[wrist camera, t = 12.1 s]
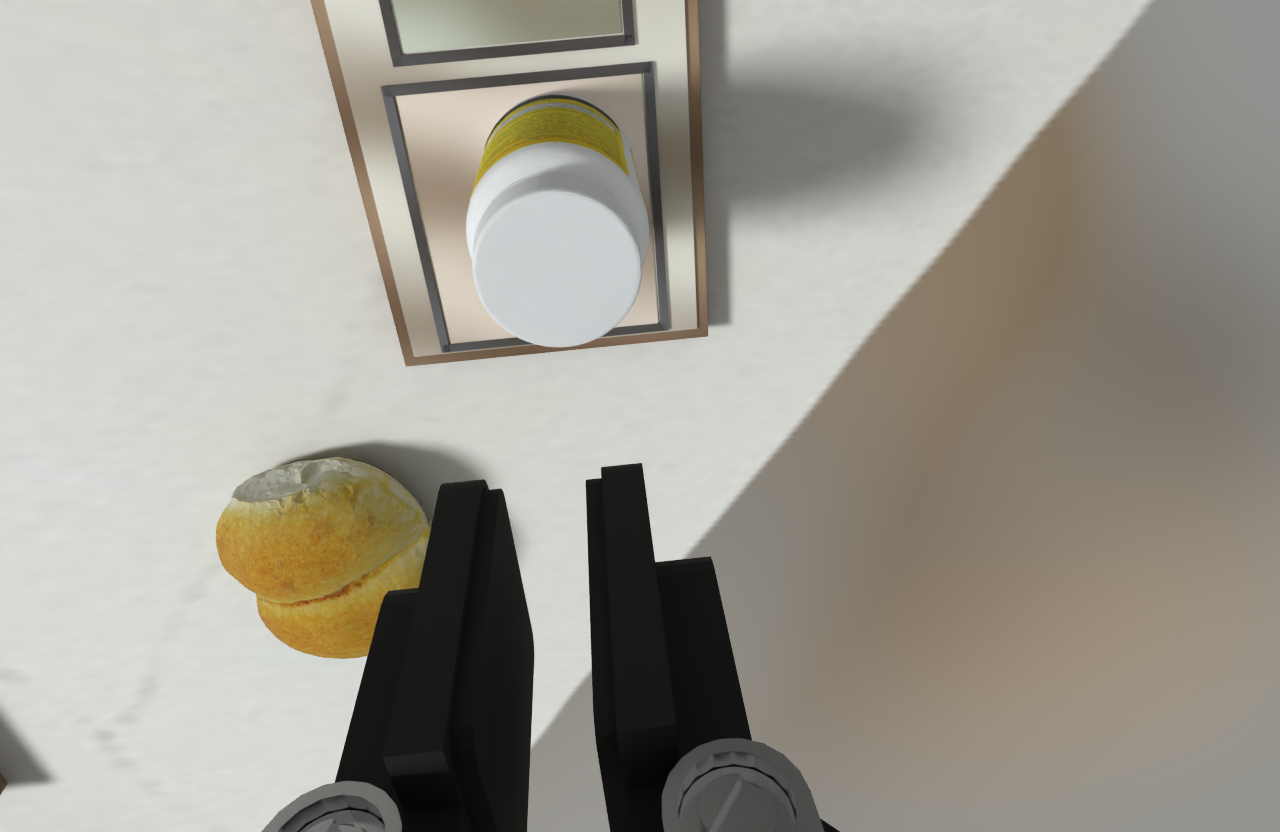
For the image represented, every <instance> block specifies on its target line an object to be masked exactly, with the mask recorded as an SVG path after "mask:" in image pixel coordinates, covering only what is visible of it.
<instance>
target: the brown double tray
mask: <svg viewBox="0 0 1280 832" xmlns="http://www.w3.org/2000/svg"><path fill="white" fill-rule="evenodd" d="M311 4H312V8H313V12H314V16H315V19H316V23H317V27H318V31H319V35H320V39H321V43H322V46H323V50H324V54H325V58H326V62H327V66H328V69H329V73H330V77H331V81H332V85H333V89H334V92H335V96H336V100H337V104H338V108H339V112H340V115H341V119H342V123H343V127H344V131H345V135H346V138H347V142H348V146H349V150H350V154H351V158H352V161H353V165H354V169H355V173H356V177H357V181H358V184H359V188H360V192H361V196H362V200H363V204H364V207H365V211H366V215H367V219H368V223H369V227H370V230H371V234H372V238H373V242H374V246H375V250H376V253H377V257H378V261H379V265H380V269H381V273H382V276H383V280H384V284H385V288H386V292H387V296H388V300H389V303H390V307H391V311H392V315H393V319H394V323H395V326H396V330H397V334H398V338H399V342H400V346H401V349H402V353H403V357H404V361H405V365H406V366H416V365H426V364H436V363H446V362H456V361H466V360H476V359H486V358H496V357H506V356H516V355H526V354H536V353H546V352H556V351H566V350H576V349H586V348H596V347H606V346H616V345H626V344H636V343H646V342H656V341H666V340H676V339H686V338H696V337H706V336H708V315H707V283H706V251H705V219H704V186H703V154H702V122H701V90H700V57H699V25H698V0H311ZM545 93H567V94H572V95H576V96H579V97H582V98H585V99H587V100H589V101H591V102H593V103H595V104H596V105H598V106H599V107H601V108H602V109H603V110H604V111H606V112H607V113H608V114H609V115H610V116H611V117H612V118H613V119H614V120H615V122H616V123H617V124H618V125H619V127H620V128H621V130H622V131H623V133H624V135H625V136H626V139H627V141H628V143H629V146H630V148H631V151H632V155H633V159H634V163H635V167H636V171H637V175H638V179H639V183H640V187H641V191H642V195H643V198H644V202H645V205H646V209H647V215H648V222H649V243H648V251H647V255H646V259H645V262H644V265H643V267H642V278H641V284H640V289H639V292H638V295H637V297H636V300H635V302H634V304H633V306H632V307H631V309H630V310H629V312H628V313H627V315H626V316H625V317H624V318H623V319H622V321H621V322H620V323H619V324H617V325H616V326H615V327H614V328H613V329H612V330H610V331H609V332H608V333H606V334H605V335H603V336H601V337H599V338H597V339H595V340H593V341H591V342H588V343H585V344H581V345H577V346H571V347H546V346H541V345H536V344H533V343H530V342H527V341H524V340H522V339H520V338H518V337H516V336H514V335H512V334H511V333H509V332H508V331H506V330H505V329H504V328H502V327H501V326H500V325H499V324H498V323H497V322H496V321H495V320H494V319H493V318H492V317H491V316H490V314H489V313H488V312H487V310H486V309H485V307H484V306H483V304H482V302H481V300H480V298H479V296H478V293H477V291H476V287H475V284H474V279H473V271H472V259H471V256H470V253H469V249H468V245H467V238H466V217H467V210H468V204H469V200H470V197H471V194H472V191H473V187H474V184H475V180H476V176H477V173H478V170H479V166H480V163H481V159H482V156H483V153H484V148H485V144H486V142H487V139H488V137H489V135H490V133H491V131H492V129H493V128H494V126H495V124H496V123H497V122H498V121H499V119H500V118H501V117H502V116H503V115H504V114H505V113H506V112H507V111H508V110H510V109H511V108H512V107H513V106H515V105H516V104H518V103H519V102H521V101H523V100H526V99H528V98H530V97H533V96H537V95H540V94H545Z"/></svg>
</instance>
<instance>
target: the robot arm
mask: <svg viewBox="0 0 1280 832" xmlns="http://www.w3.org/2000/svg"><path fill="white" fill-rule="evenodd" d="M601 476H602V478H600V479H590V480H586V502H587V532H588V563H589V594H590V624H591V655H592V686H593V712H594V725H595V736H596V745H597V752H598V758H599V765H600V770H601V776H602V782H603V789H604V795H605V801H606V807H607V814H608V820H609V826H610V832H839V831H838V830H836V829H835V828H834V827H832V826H830V825H829V824H827V823H826V822H825V821H823V820H822V819H820V817H819V814H818V811H817V809H816V805H815V803H814V800H813V797H812V794H811V791H810V789H809V787H808V785H807V783H806V782H805V780H804V778H803V776H802V774H801V772H800V770H799V769H797V767H795V766H794V764H793V763H792V762H790V760H789V759H787V758H786V756H784V755H783V754H782V753H780V752H778V751H776V750H775V749H773V748H771V747H769V746H767V745H766V744H764V743H760V742H755V741H752V739H751V734H750V730H749V725H748V720H747V716H746V711H745V707H744V703H743V698H742V693H741V688H740V684H739V679H738V675H737V670H736V665H735V661H734V656H733V652H732V647H731V642H730V638H729V633H728V629H727V624H726V619H725V615H724V610H723V606H722V601H721V597H720V592H719V588H718V583H717V578H716V574H715V569H714V565H713V561H712V559H711V557H702V558H692V559H683V560H674V561H664V562H655V558H654V551H653V543H652V536H651V528H650V520H649V513H648V505H647V498H646V490H645V482H644V475H643V467H642V463H638V464H628V465H618V466H609V467H601ZM533 673H534V642H533V633H532V628H531V623H530V618H529V613H528V608H527V603H526V598H525V594H524V589H523V584H522V579H521V574H520V569H519V565H518V560H517V555H516V550H515V545H514V540H513V535H512V531H511V526H510V521H509V516H508V511H507V506H506V502H505V497H504V493H503V491H502V489H494V490H489V489H488V485H487V483H486V481H485V480H484V479H483V480H473V481H464V482H454V483H444V484H442V485H441V486H440V489H439V493H438V498H437V503H436V507H435V512H434V517H433V522H432V526H431V531H430V536H429V540H428V545H427V550H426V555H425V559H424V564H423V569H422V573H421V578H420V583H419V587H418V588H411V589H401V590H392V591H388V592H387V593H386V595H385V596H384V598H383V601H382V604H381V607H380V611H379V614H378V618H377V622H376V626H375V630H374V634H373V638H372V641H371V645H370V649H369V653H368V657H367V661H366V665H365V668H364V672H363V676H362V680H361V684H360V688H359V692H358V695H357V699H356V703H355V707H354V711H353V715H352V719H351V722H350V726H349V730H348V734H347V738H346V742H345V746H344V749H343V753H342V757H341V761H340V765H339V769H338V773H337V776H336V780H335V783H332V784H326V785H323V786H321V787H318V788H316V789H314V790H312V791H310V792H307V793H305V794H303V795H301V796H299V797H298V798H297V799H295V800H294V801H293V802H291V803H290V804H289V805H287V806H286V807H285V808H283V809H282V810H281V811H279V812H278V814H277V815H276V816H275V817H274V818H273V819H272V820H271V821H270V823H269V824H268V825H267V826H266V827H265V828H264V829H263V830H262V832H527V816H528V791H529V767H530V745H531V721H532V697H533Z"/></svg>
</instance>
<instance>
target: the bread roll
mask: <svg viewBox="0 0 1280 832" xmlns="http://www.w3.org/2000/svg"><path fill="white" fill-rule="evenodd" d="M430 531H431V526H430V525H429V523H428V521H427V518H426V516H425V514H424V511H423V510H422V508H421V506H420V504H419V503H418V501H417V500H416V499H415V498H414V497H413V496H412V494H411V493H410V492H409V491H408V490H406V489H405V488H404V487H403V486H402V485H401V484H400V483H399V482H398V481H397V480H396V479H394V478H393V477H391V476H390V475H388V474H386V473H385V472H383V471H382V470H380V469H378V468H375V467H373V466H371V465H369V464H367V463H363V462H359V461H355V460H351V459H347V458H342V457H331V458H324V459H318V460H303V461H298V462H294V463H291V464H287V465H283V466H280V467H277V468H274V469H271V470H267V471H265V472H262V473H260V474H258V475H255V476H252V477H251V478H249V479H248V480H246V481H245V482H244V483H242V484H241V485H239V486H238V487H237V488H236V489H235V491H234V492H233V494H232V499H231V501H230V503H229V505H228V506H227V507H226V508H225V509H224V511H223V513H222V514H221V517H220V519H219V521H218V523H217V529H216V543H217V549H218V553H219V557H220V560H221V563H222V565H223V566H224V568H225V570H226V571H227V572H228V573H229V574H230V575H232V576H233V577H234V578H235V579H237V580H238V581H239V582H240V583H241V584H242V585H243V586H245V587H246V588H247V589H249V590H251V591H252V592H254V593H256V596H257V606H258V612H259V615H260V617H261V619H262V621H263V622H264V623H265V626H266V627H267V628H268V629H269V630H270V631H271V632H272V633H273V634H274V635H275V636H276V637H277V638H278V639H279V640H280V641H282V642H283V643H285V644H287V645H288V646H289V647H291V648H293V649H296V650H298V651H300V652H303V653H306V654H310V655H314V656H319V657H324V658H339V659H345V658H358V657H363V656H368V653H369V649H370V645H371V641H372V638H373V634H374V630H375V626H376V622H377V618H378V614H379V611H380V607H381V604H382V601H383V598H384V596H385V595H386V593H387V592H388V591H392V590H401V589H411V588H418V587H419V583H420V578H421V573H422V569H423V564H424V559H425V555H426V550H427V545H428V540H429V536H430Z"/></svg>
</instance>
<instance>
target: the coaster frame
mask: <svg viewBox="0 0 1280 832" xmlns="http://www.w3.org/2000/svg"><path fill="white" fill-rule="evenodd" d="M6 785H7V782H6V781H5V780H4V779H3V778H2V776H1V775H0V795H1V793H2V791H3V790H4V788H5V787H6Z"/></svg>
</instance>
